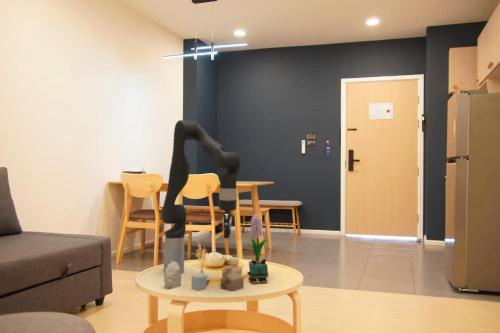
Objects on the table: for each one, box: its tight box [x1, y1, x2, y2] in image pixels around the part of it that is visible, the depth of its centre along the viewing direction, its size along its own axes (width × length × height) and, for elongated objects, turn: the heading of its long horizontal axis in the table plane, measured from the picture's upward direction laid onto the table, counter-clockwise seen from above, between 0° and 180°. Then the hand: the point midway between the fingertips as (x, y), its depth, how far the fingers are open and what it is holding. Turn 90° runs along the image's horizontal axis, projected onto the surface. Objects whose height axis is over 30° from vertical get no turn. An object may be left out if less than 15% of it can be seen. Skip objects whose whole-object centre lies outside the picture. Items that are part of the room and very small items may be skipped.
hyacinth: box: [246, 213, 267, 280], centre depth 208 cm, size 9×10×30 cm
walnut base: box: [219, 277, 244, 292], centre depth 189 cm, size 7×7×4 cm
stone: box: [163, 261, 182, 290], centre depth 191 cm, size 9×5×10 cm, turn 151°
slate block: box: [191, 273, 208, 292], centre depth 188 cm, size 4×4×6 cm
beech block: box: [221, 265, 243, 281], centre depth 189 cm, size 6×6×4 cm
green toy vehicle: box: [247, 258, 269, 285], centre depth 200 cm, size 9×11×10 cm
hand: (227, 236), depth 188 cm, fingers open, 8 cm apart
